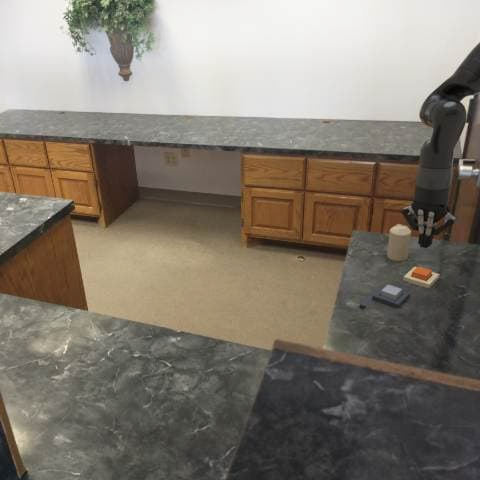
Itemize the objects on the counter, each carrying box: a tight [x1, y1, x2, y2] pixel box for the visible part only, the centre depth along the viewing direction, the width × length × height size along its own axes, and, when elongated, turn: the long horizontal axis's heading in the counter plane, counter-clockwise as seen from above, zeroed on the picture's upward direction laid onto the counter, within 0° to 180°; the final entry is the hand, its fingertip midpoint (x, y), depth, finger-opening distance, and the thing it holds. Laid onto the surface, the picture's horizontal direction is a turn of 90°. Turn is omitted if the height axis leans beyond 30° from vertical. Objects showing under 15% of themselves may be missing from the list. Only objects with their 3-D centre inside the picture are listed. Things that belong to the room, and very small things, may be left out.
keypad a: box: [402, 266, 440, 289], centre depth 134 cm, size 12×10×3 cm
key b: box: [381, 284, 403, 301], centre depth 127 cm, size 4×4×2 cm
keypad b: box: [359, 283, 411, 310], centre depth 128 cm, size 12×10×3 cm
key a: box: [412, 266, 433, 281], centre depth 133 cm, size 4×4×2 cm
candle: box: [386, 223, 412, 262], centre depth 146 cm, size 6×6×10 cm
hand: (424, 246), depth 129 cm, fingers closed
